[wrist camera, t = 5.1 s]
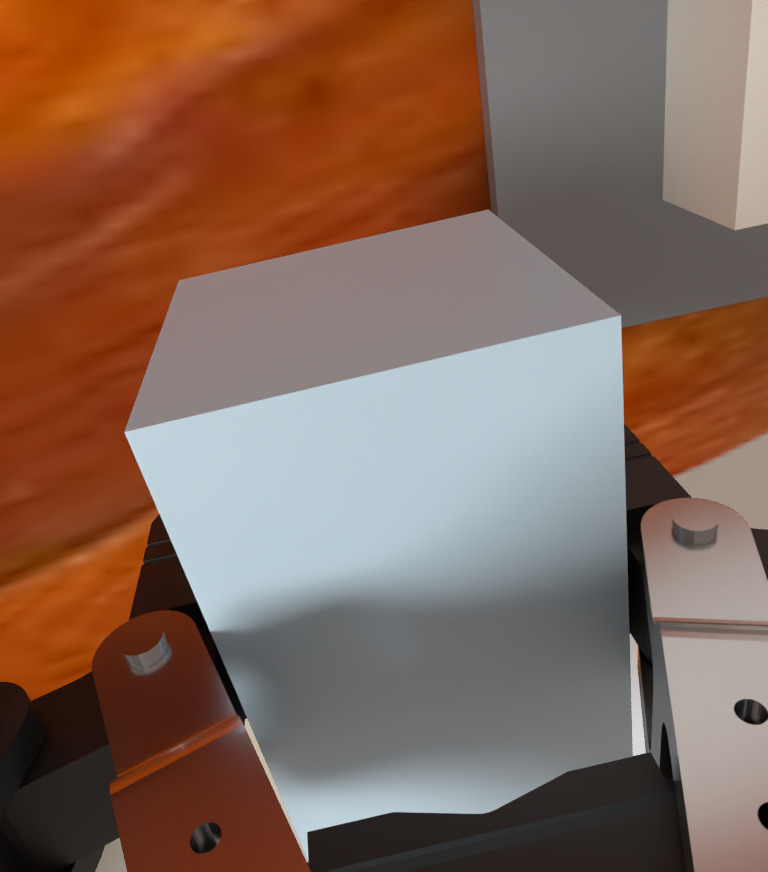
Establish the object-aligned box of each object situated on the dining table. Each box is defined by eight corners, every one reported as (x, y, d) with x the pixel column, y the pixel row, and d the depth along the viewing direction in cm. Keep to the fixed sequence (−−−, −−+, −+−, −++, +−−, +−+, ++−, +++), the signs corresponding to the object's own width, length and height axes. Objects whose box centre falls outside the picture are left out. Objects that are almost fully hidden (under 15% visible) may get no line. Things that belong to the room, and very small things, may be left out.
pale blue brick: (178, 280, 11) (124, 431, 7) (488, 209, 12) (621, 315, 7) (302, 640, 15) (316, 879, 11) (531, 585, 16) (633, 798, 11)
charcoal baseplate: (454, -195, 22) (461, -204, 21) (1008, -297, 23) (1037, -309, 22) (503, 343, 31) (509, 352, 30) (900, 258, 32) (918, 264, 31)
